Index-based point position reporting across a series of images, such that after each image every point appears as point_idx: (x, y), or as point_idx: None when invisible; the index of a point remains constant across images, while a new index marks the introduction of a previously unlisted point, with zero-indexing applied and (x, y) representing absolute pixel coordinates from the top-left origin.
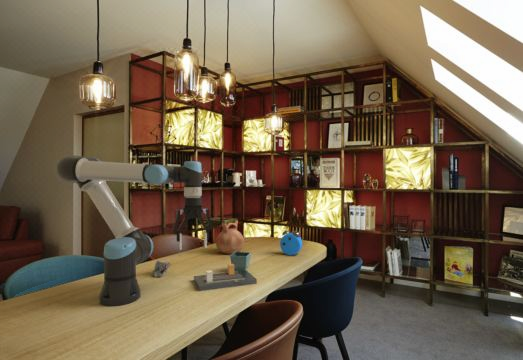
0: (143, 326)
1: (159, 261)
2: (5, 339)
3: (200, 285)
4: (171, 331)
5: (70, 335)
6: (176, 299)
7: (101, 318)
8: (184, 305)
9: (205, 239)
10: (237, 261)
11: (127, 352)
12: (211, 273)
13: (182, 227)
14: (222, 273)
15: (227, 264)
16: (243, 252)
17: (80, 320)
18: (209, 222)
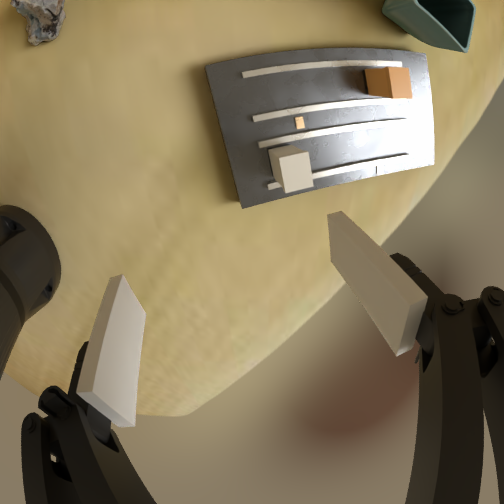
0: (150, 376)
1: (20, 2)
2: (4, 371)
3: (245, 200)
4: (206, 387)
5: (61, 380)
6: (170, 270)
7: (57, 346)
8: (205, 307)
9: (365, 305)
10: (422, 25)
11: (165, 413)
12: (305, 185)
13: (141, 493)
14: (344, 66)
15: (387, 67)
16: None
17: (32, 346)
18: (495, 417)
